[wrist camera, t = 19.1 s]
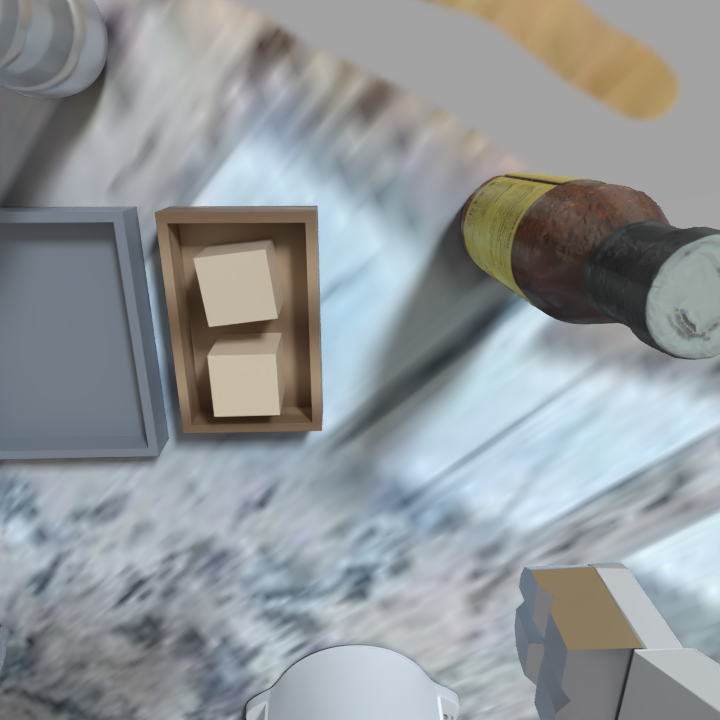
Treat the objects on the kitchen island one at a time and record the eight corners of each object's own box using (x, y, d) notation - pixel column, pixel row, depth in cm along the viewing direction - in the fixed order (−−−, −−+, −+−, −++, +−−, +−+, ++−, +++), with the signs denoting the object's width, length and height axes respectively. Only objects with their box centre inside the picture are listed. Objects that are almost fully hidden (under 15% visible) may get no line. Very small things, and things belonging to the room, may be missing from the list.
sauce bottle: (469, 283, 37) (602, 425, 18) (446, 188, 35) (571, 242, 16) (567, 253, 36) (805, 368, 18) (550, 154, 34) (801, 170, 16)
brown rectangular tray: (322, 410, 40) (321, 430, 37) (194, 412, 40) (183, 433, 37) (317, 206, 35) (315, 211, 32) (169, 206, 34) (155, 212, 32)
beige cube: (272, 237, 35) (265, 249, 31) (283, 300, 36) (277, 318, 33) (208, 245, 35) (193, 258, 31) (222, 307, 36) (208, 327, 33)
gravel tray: (168, 438, 40) (158, 456, 38) (-4, 441, 40) (-24, 459, 38) (136, 206, 34) (122, 211, 32) (-66, 207, 34) (-95, 212, 32)
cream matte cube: (281, 332, 37) (275, 354, 33) (285, 388, 38) (279, 415, 35) (220, 333, 37) (207, 355, 33) (226, 390, 38) (214, 416, 35)
